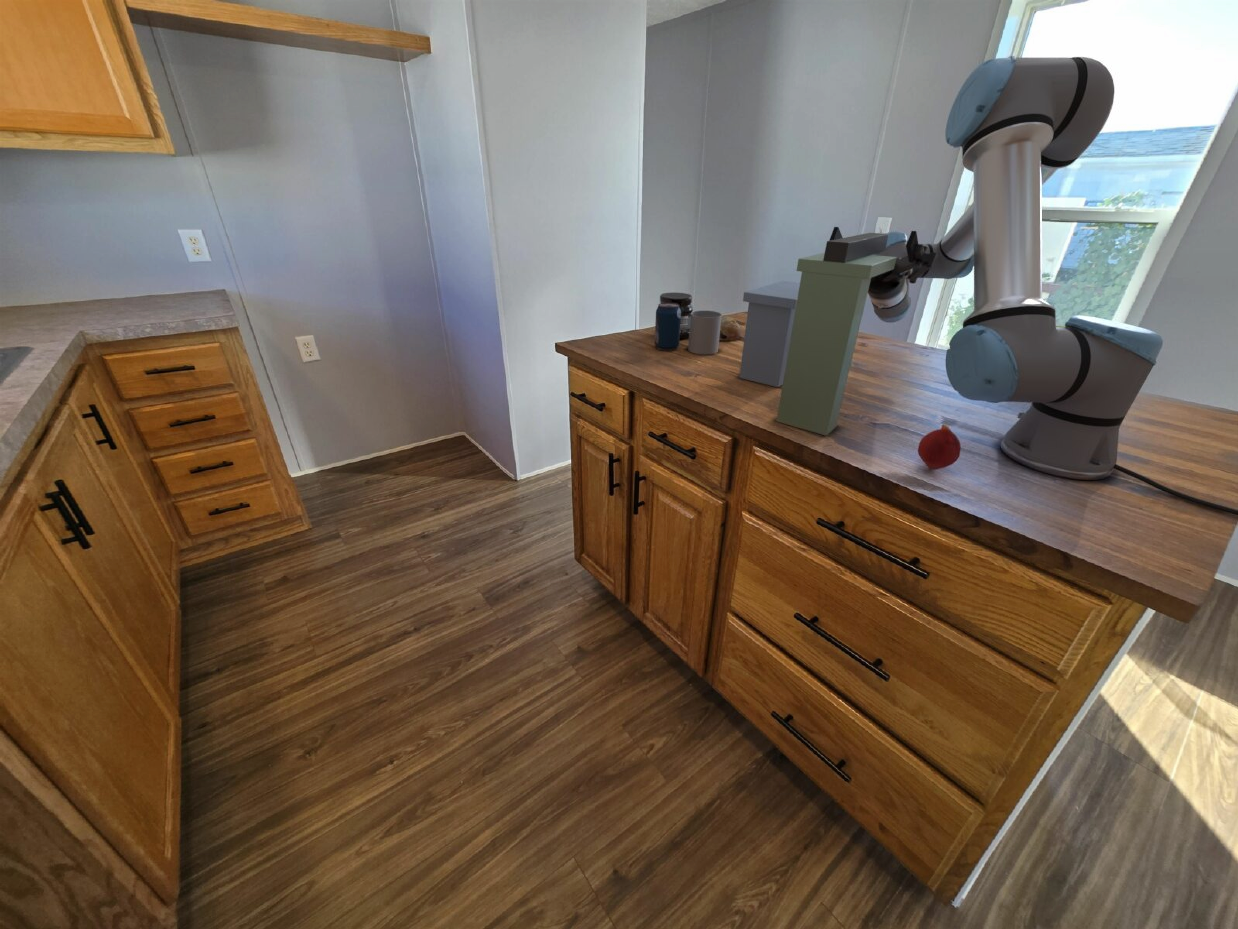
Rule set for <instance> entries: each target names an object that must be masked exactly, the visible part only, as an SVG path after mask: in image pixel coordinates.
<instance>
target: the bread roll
mask: <svg viewBox="0 0 1238 929" xmlns="http://www.w3.org/2000/svg"><path fill="white" fill-rule="evenodd" d="M740 337H741V326H740V324H739V323H738V322H737V321H736V320H735V319H734V318H733V317H731V316H726V315H722V316H721V326H720V336H719V341H725V342H727V341H729V342H734V341H737V340H739V339H740Z"/></svg>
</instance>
